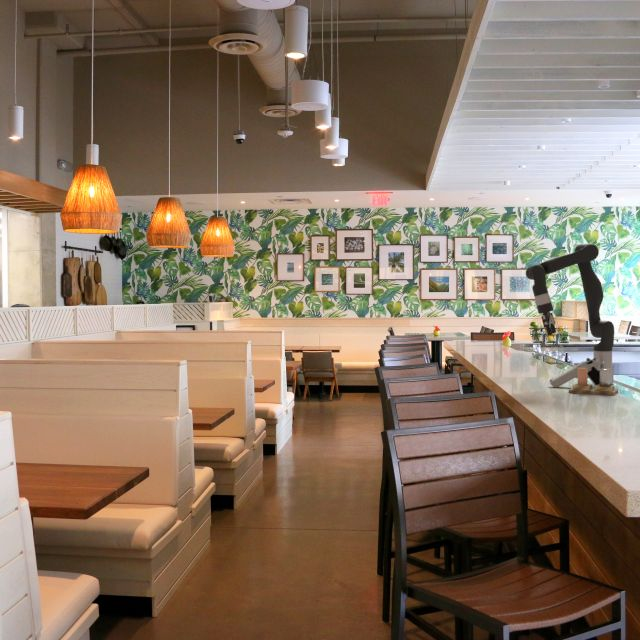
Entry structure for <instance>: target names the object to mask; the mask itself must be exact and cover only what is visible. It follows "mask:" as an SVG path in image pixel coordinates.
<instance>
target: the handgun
mask: <svg viewBox="0 0 640 640" xmlns="http://www.w3.org/2000/svg"><path fill="white" fill-rule="evenodd" d="M602 363H603V362H596V358H594V357H593V358H592V359H590V358H589V357H587V358H586V360H585V361H582V362H580V363H577V365H575V366H574V367H572V368H571V369H569V370H567V371H566V372H564V373H562V374H560V375H558V376H557V377H556V376H555V378H553V379H549V381H548V382H549V384H550V385H551V386H552V387H554V388H555V387H556V388H559V387H562V385H565V384H566V383H568V382H570V381H572V380H573V379H578V368H587V379H589V380H590V381H591V383H592V385H594V387H595V386H596V385H600V370H598V366H599V365H600V364H602Z"/></svg>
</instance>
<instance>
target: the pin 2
mask: <svg viewBox="0 0 640 640" xmlns="http://www.w3.org/2000/svg"><path fill="white" fill-rule="evenodd" d="M610 385H611V384H610V369H600V387H610Z"/></svg>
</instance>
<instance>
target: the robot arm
mask: <svg viewBox="0 0 640 640" xmlns="http://www.w3.org/2000/svg"><path fill="white" fill-rule="evenodd" d="M599 253H600V252H599V248H598V246H597V245H596V244H593V243H579V244H577V245H576V247H574V252H572V253H567V254H562V255H559V256H555V257H552V258H549V259H547V260H545V261H543V262H540V263H537V264H534V265H531V266H529V267H528V268H526V270H525V277H526V278H527V279H529V280H533V285H532V287H531V289H532V292H533V296H534V301H535V305H536V309H537V313H538V314H539V315H540V314H541V321H542V323H543V328H545V330H546V332H547V333H546V334H547V336H552V335H553V334H556V333H557V330H556V327H555V324H556V321H555V318H554V314H553V311H554V307H553V302H552V300H551V296H550V295H549V291H548V287H547V278H546V275H550V274H553V273H556V272H559V271H561V270H563V269H566V268H569V267H571V266H574V265H577V267H578V270H579V275H580V278H581V283H582V284H581V285H582V289H583V294H584V299H585V302H586V308H587V313H588V314H587V315H588V325H589V331H590V335H592V337H593V338H597V339H600V341H599V343H597V344H594V346H593V359H594V358H596V362H603V363H602V364H600V365H599V366H598V370H600V369H610V385H612V384H614V365H613V347H614V344H615V343H614V342H615V326H614V323H613V322H612V321H611V320H602V319H601V316H600V315H601V314H600V309H601V305H602V303H603V300H604V290H603V285H602V282H601V280H600V279H599V277H598V276H597V274H596V272H595V270H594V269H593V266H592V261H594V260H596V259H597V258H598V256H599Z"/></svg>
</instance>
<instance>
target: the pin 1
mask: <svg viewBox="0 0 640 640" xmlns="http://www.w3.org/2000/svg"><path fill="white" fill-rule="evenodd" d="M577 384H578V385H580V386H587V384H588V378H587V368H578V378H577Z"/></svg>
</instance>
